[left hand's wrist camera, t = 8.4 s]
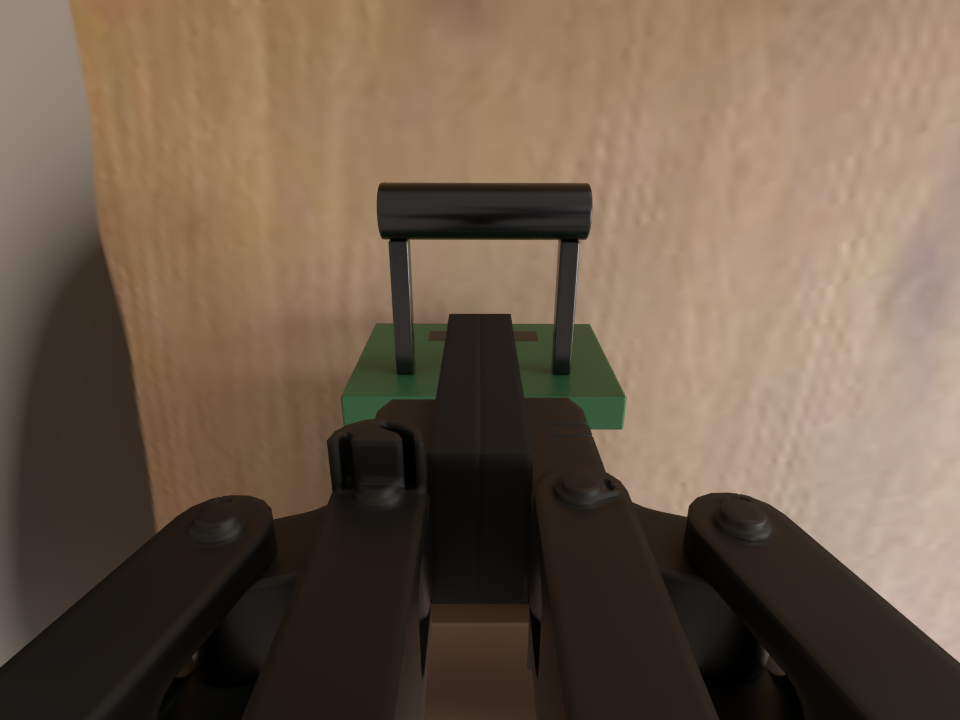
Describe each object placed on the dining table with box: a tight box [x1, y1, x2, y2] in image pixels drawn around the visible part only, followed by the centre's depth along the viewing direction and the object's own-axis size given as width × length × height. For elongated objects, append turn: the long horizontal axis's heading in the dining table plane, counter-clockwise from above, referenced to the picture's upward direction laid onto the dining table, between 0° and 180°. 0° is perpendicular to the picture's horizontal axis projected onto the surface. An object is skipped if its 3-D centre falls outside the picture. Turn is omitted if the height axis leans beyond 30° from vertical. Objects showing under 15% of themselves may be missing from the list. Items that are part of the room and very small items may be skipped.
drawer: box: [341, 183, 627, 603], centre depth 24 cm, size 26×9×7 cm, turn 0°
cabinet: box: [424, 603, 537, 720], centre depth 29 cm, size 21×10×9 cm, turn 0°
